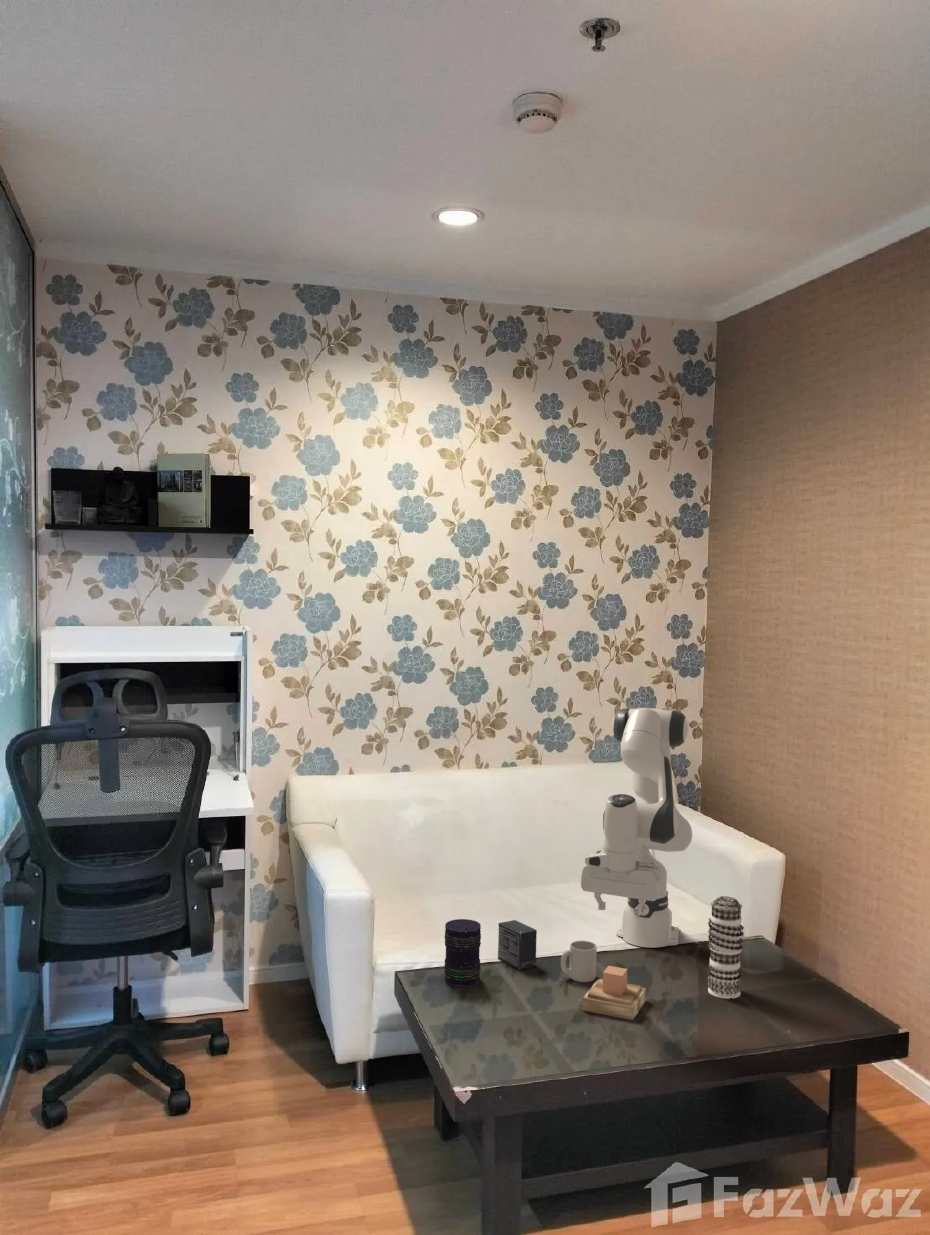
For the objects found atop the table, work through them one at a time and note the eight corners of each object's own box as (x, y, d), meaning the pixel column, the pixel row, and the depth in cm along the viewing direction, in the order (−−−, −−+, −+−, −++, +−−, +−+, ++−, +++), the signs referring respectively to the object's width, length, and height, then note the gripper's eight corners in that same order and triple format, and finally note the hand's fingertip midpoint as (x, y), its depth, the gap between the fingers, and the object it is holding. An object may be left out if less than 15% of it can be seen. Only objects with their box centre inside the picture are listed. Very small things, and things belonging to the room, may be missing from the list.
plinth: (597, 991, 267) (597, 976, 266) (645, 1000, 261) (646, 985, 261) (582, 1010, 255) (582, 994, 255) (632, 1020, 249) (633, 1004, 249)
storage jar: (439, 974, 277) (440, 920, 276) (473, 970, 280) (474, 917, 279) (450, 988, 267) (451, 933, 266) (485, 984, 270) (486, 929, 270)
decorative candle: (699, 992, 267) (702, 899, 266) (717, 982, 274) (719, 891, 273) (731, 1002, 261) (733, 907, 260) (748, 992, 268) (750, 899, 267)
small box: (537, 966, 284) (538, 929, 283) (519, 971, 280) (519, 933, 279) (514, 954, 292) (515, 918, 292) (496, 958, 289) (497, 922, 288)
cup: (599, 981, 273) (600, 949, 273) (564, 984, 271) (564, 951, 271) (591, 971, 280) (591, 940, 280) (556, 973, 278) (557, 942, 278)
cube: (608, 984, 261) (608, 965, 261) (626, 988, 259) (627, 969, 259) (602, 991, 257) (603, 972, 256) (621, 995, 255) (622, 975, 254)
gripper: (663, 861, 257) (662, 914, 257) (586, 851, 265) (585, 902, 266) (657, 868, 251) (656, 922, 252) (579, 857, 259) (578, 910, 260)
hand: (619, 912), depth 259 cm, fingers open, 8 cm apart
